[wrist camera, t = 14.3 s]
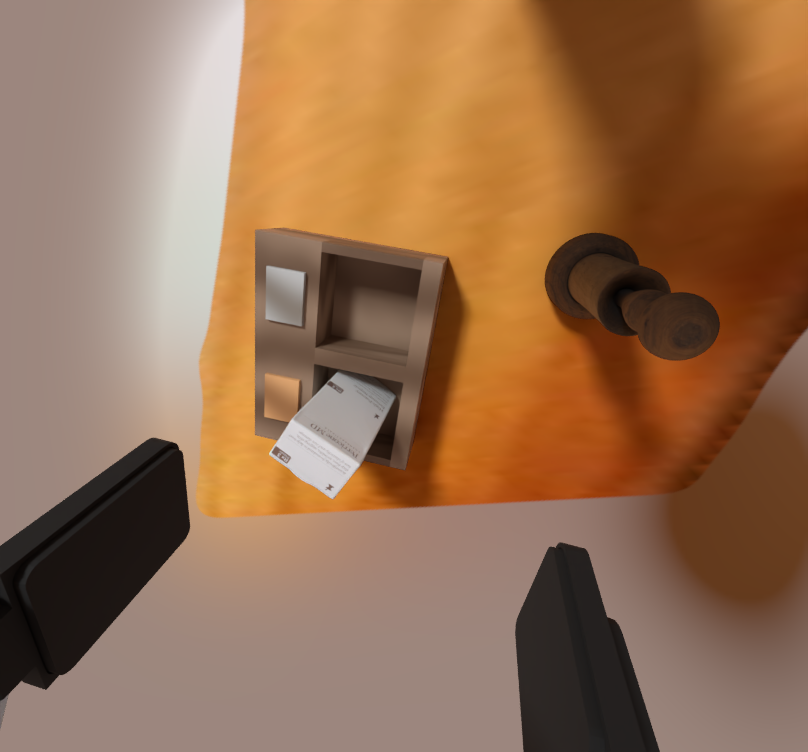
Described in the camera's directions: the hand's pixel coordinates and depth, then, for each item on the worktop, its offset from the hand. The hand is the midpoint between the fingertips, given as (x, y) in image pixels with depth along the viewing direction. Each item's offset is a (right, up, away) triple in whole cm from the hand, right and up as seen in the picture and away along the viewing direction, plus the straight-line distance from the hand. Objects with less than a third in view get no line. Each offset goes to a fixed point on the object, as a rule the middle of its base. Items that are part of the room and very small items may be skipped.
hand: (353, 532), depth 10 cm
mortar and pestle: (+16, +12, +23) cm, 31 cm away
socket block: (-4, +7, +29) cm, 30 cm away
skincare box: (-3, +2, +30) cm, 30 cm away
